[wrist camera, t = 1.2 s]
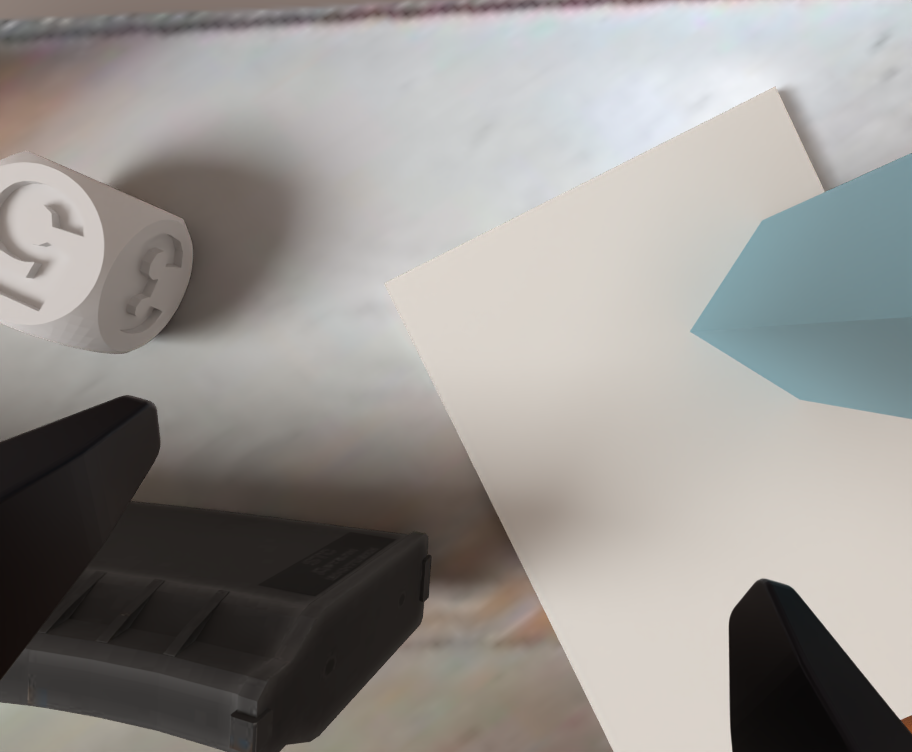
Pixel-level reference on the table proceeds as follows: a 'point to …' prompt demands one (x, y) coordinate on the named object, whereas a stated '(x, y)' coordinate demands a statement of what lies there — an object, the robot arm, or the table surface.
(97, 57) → the table surface
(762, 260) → the teal block
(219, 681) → the magazine
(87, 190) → the die
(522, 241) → the cream rectangular board
